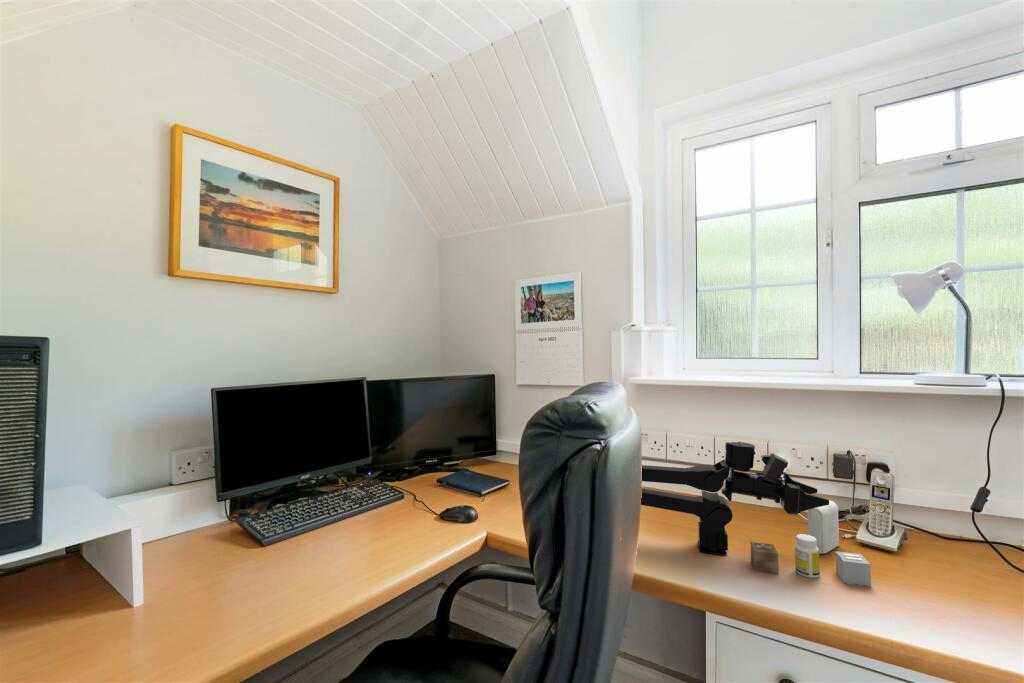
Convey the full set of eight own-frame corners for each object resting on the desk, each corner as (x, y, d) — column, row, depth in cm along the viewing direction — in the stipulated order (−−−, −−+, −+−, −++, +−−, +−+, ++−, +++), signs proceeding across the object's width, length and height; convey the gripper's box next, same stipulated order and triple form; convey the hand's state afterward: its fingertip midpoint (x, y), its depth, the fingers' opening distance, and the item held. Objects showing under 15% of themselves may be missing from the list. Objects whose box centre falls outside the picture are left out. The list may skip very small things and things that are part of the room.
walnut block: (754, 571, 106) (754, 549, 106) (750, 562, 111) (750, 541, 111) (778, 574, 104) (778, 552, 104) (773, 564, 109) (773, 543, 109)
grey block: (844, 583, 100) (843, 560, 100) (836, 572, 105) (835, 550, 105) (871, 586, 99) (870, 563, 99) (861, 575, 103) (860, 553, 103)
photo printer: (823, 539, 122) (822, 494, 122) (841, 545, 118) (840, 499, 118) (805, 550, 116) (804, 502, 116) (824, 556, 113) (823, 507, 113)
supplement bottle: (816, 569, 106) (815, 534, 106) (822, 579, 102) (821, 543, 102) (793, 567, 108) (792, 532, 108) (798, 576, 103) (797, 540, 103)
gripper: (761, 462, 106) (838, 473, 100) (748, 446, 123) (814, 455, 118) (757, 508, 106) (835, 522, 100) (745, 486, 123) (810, 497, 118)
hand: (822, 496), depth 109 cm, fingers open, 9 cm apart
